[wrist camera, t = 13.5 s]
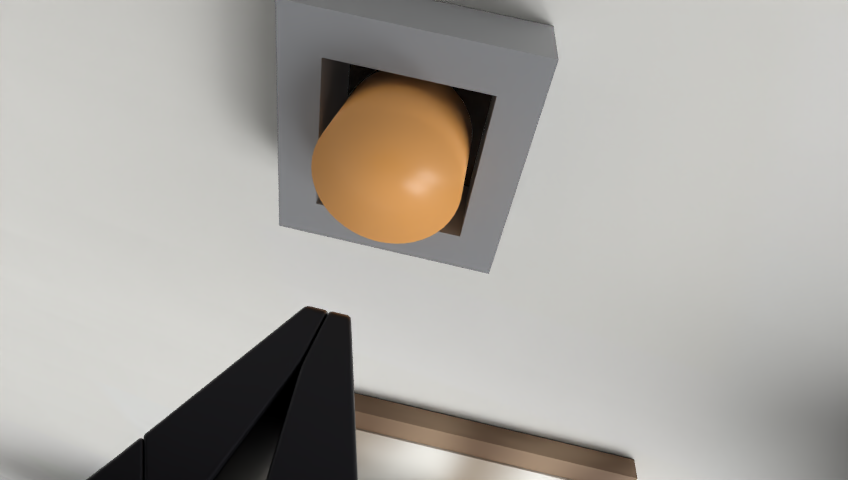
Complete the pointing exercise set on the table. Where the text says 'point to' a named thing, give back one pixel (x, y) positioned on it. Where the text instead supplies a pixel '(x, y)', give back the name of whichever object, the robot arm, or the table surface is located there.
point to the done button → (394, 158)
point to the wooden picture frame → (466, 449)
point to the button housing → (423, 59)
